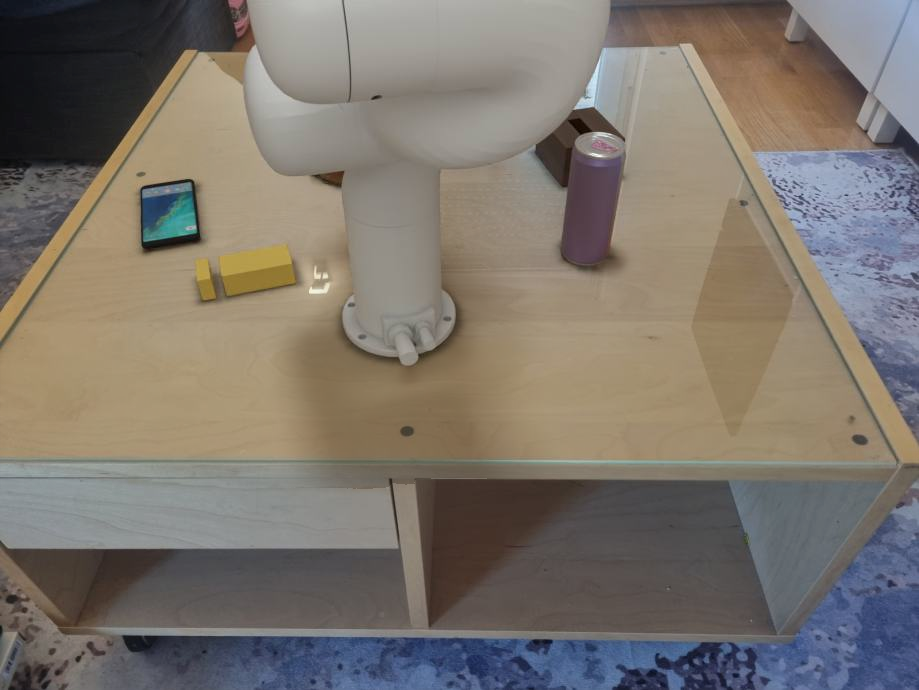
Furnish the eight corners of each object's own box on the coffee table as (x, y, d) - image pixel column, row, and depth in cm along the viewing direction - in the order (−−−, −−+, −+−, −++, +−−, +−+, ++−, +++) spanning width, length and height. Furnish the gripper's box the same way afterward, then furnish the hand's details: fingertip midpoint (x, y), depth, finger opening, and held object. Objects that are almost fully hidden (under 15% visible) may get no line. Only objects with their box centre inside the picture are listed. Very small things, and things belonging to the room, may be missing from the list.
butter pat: (216, 298, 86) (210, 278, 84) (203, 301, 86) (196, 280, 84) (213, 277, 89) (207, 257, 87) (200, 280, 89) (194, 260, 87)
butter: (296, 283, 88) (292, 263, 86) (227, 296, 86) (221, 276, 84) (290, 263, 91) (287, 243, 89) (223, 276, 89) (218, 255, 87)
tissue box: (588, 144, 113) (593, 106, 109) (618, 177, 106) (625, 138, 102) (534, 152, 111) (537, 115, 107) (561, 187, 104) (566, 148, 100)
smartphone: (193, 177, 104) (200, 237, 93) (194, 182, 104) (201, 242, 94) (139, 185, 102) (140, 247, 92) (141, 190, 103) (142, 252, 92)
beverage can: (589, 274, 90) (607, 163, 79) (550, 254, 93) (562, 144, 82) (617, 252, 93) (638, 143, 83) (578, 233, 96) (593, 125, 86)
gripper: (240, -159, 61) (277, 62, 74) (431, -168, 65) (435, 45, 77) (235, -174, 67) (270, 35, 79) (411, -182, 70) (418, 20, 82)
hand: (351, 38), depth 78 cm, fingers closed on knife, 2 cm apart
